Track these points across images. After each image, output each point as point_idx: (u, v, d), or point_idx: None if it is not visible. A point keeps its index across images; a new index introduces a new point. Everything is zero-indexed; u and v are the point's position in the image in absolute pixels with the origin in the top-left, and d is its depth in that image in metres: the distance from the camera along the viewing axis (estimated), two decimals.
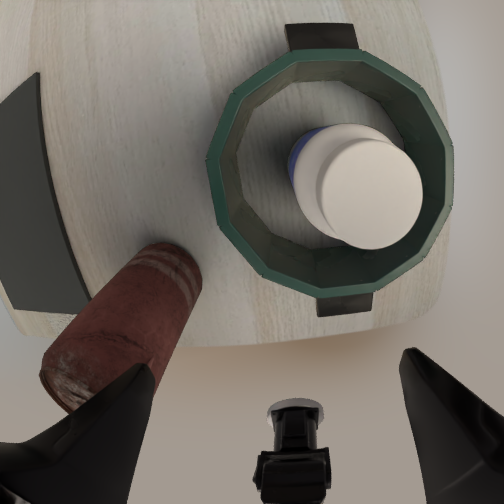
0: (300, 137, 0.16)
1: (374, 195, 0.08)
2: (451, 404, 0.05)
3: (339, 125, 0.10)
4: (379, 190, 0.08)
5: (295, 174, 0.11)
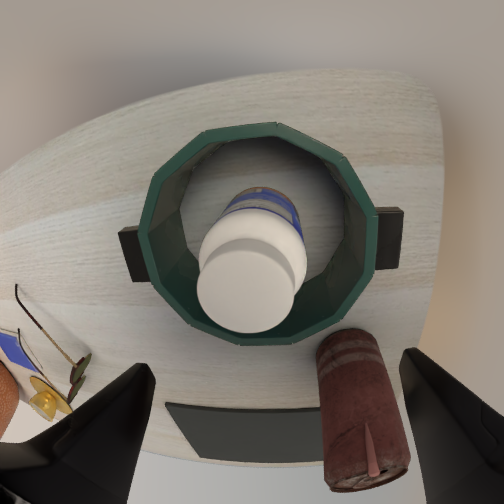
0: None
1: (242, 298, 0.11)
2: (451, 404, 0.05)
3: None
4: (238, 295, 0.11)
5: None
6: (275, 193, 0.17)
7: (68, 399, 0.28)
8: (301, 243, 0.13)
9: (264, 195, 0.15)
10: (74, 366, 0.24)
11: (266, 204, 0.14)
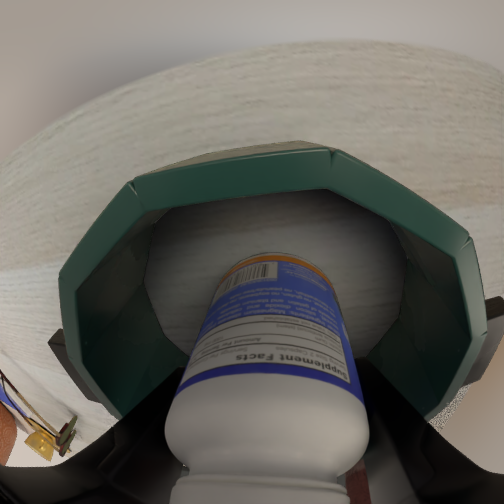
0: None
1: None
2: (392, 422, 0.05)
3: None
4: None
5: None
6: (302, 273, 0.09)
7: (60, 454, 0.20)
8: (366, 426, 0.05)
9: (285, 293, 0.08)
10: (57, 435, 0.16)
11: (295, 340, 0.06)
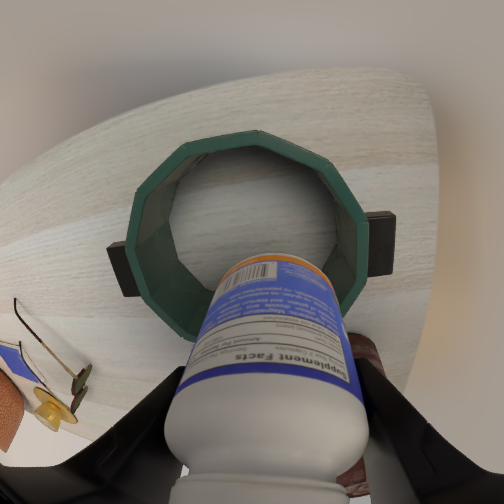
0: None
1: None
2: (392, 422, 0.05)
3: None
4: None
5: None
6: (302, 273, 0.09)
7: (71, 410, 0.27)
8: (365, 426, 0.05)
9: (284, 293, 0.08)
10: (74, 378, 0.24)
11: (294, 340, 0.06)
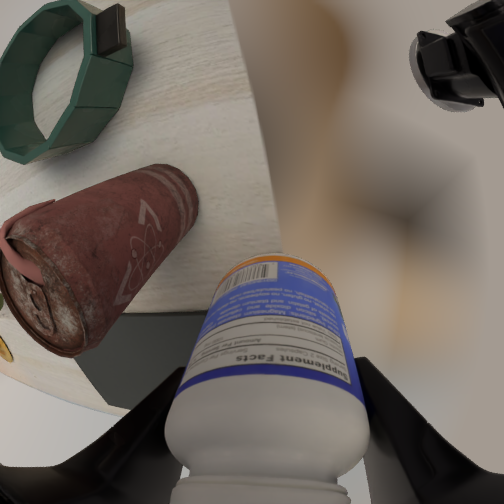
0: None
1: None
2: (391, 422, 0.05)
3: None
4: None
5: None
6: (302, 274, 0.09)
7: None
8: (366, 427, 0.05)
9: (285, 293, 0.08)
10: None
11: (295, 341, 0.06)
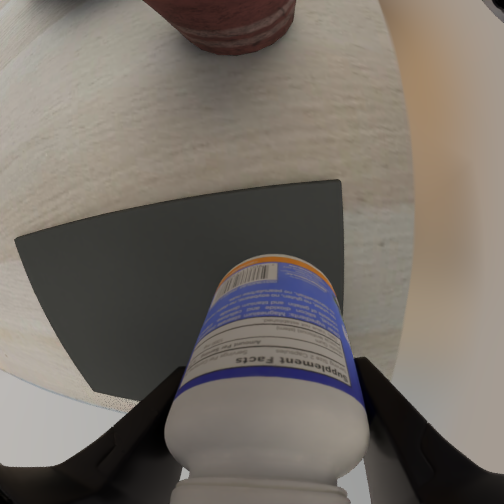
0: None
1: None
2: (391, 422, 0.05)
3: None
4: None
5: None
6: (302, 275, 0.09)
7: None
8: (366, 429, 0.05)
9: (285, 295, 0.08)
10: None
11: (295, 343, 0.06)
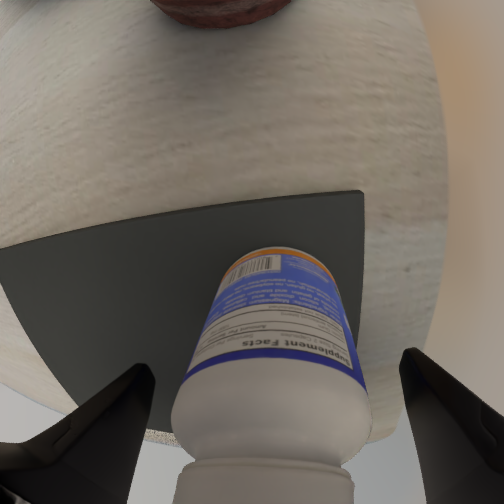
0: None
1: None
2: (452, 404, 0.05)
3: None
4: None
5: None
6: (305, 266, 0.09)
7: None
8: (369, 412, 0.05)
9: (288, 283, 0.08)
10: None
11: (299, 327, 0.06)
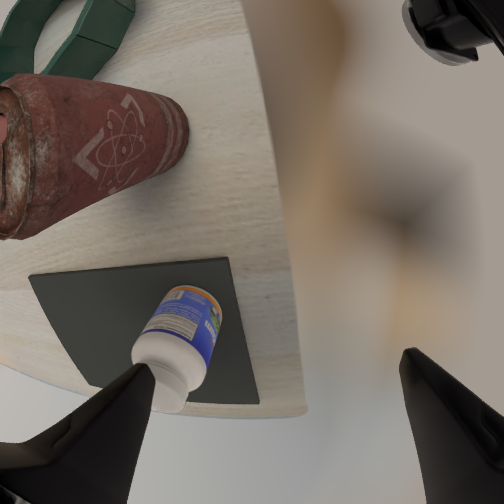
0: None
1: None
2: (451, 404, 0.05)
3: None
4: None
5: None
6: (193, 296, 0.20)
7: None
8: (195, 358, 0.16)
9: (179, 305, 0.19)
10: None
11: (173, 323, 0.17)
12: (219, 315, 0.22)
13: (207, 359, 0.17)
